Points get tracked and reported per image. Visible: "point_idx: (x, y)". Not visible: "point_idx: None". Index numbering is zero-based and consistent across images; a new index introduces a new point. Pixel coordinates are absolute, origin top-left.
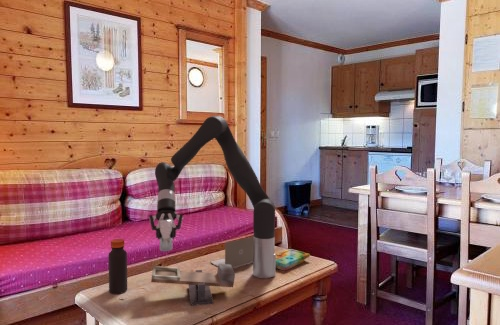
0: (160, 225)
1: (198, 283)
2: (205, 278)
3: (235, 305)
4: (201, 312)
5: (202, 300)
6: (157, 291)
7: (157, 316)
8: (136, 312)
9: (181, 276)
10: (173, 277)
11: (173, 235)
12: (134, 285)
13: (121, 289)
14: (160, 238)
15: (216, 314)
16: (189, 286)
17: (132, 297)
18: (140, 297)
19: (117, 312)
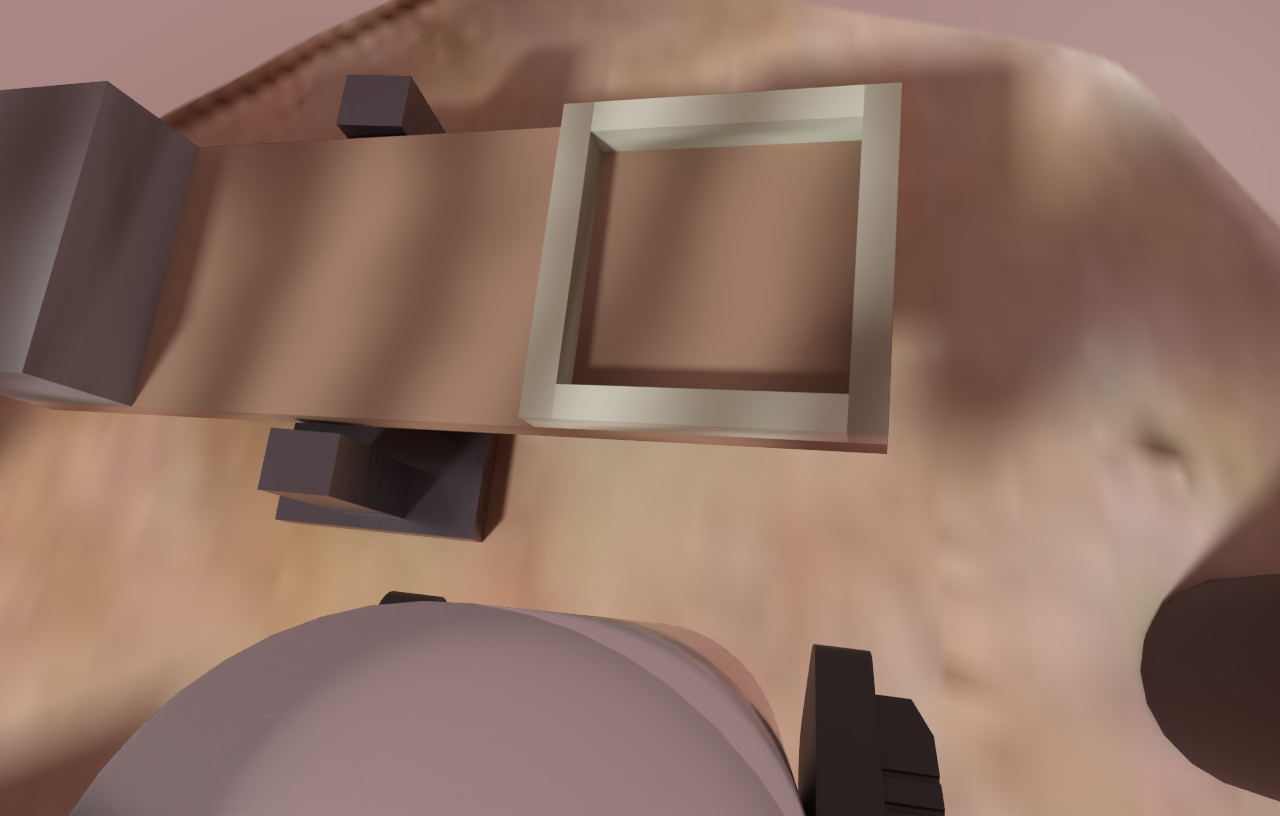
0: (798, 809)
1: (401, 112)
2: (296, 242)
3: (218, 109)
4: (484, 57)
5: None
6: (798, 537)
7: (814, 60)
8: (987, 153)
9: (538, 246)
10: (640, 100)
11: (396, 598)
12: (1064, 790)
13: (1214, 583)
14: (776, 732)
15: (391, 11)
16: (472, 492)
17: (1053, 458)
18: (970, 438)
19: (1157, 185)
